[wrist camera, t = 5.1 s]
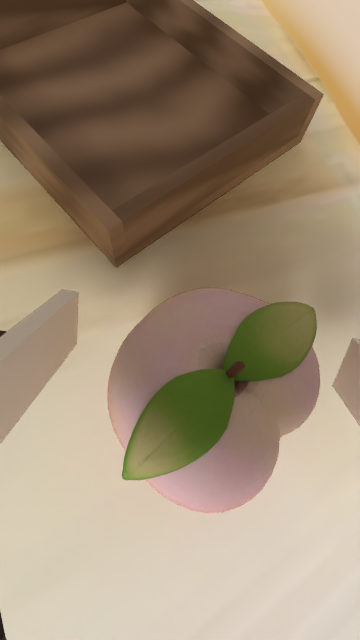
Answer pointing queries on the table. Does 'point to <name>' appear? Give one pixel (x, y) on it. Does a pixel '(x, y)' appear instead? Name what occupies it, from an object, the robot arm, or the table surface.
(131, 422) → the decorative fruit
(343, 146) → the table surface
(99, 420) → the table surface
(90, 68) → the walnut tray
